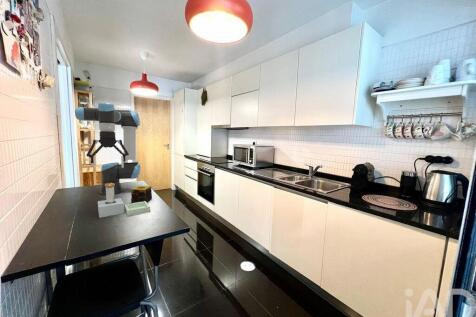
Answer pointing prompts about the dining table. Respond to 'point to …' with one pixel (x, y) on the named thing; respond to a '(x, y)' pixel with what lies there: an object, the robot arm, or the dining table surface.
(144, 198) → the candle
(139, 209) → the tray
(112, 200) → the pin
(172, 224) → the dining table surface
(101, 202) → the block
